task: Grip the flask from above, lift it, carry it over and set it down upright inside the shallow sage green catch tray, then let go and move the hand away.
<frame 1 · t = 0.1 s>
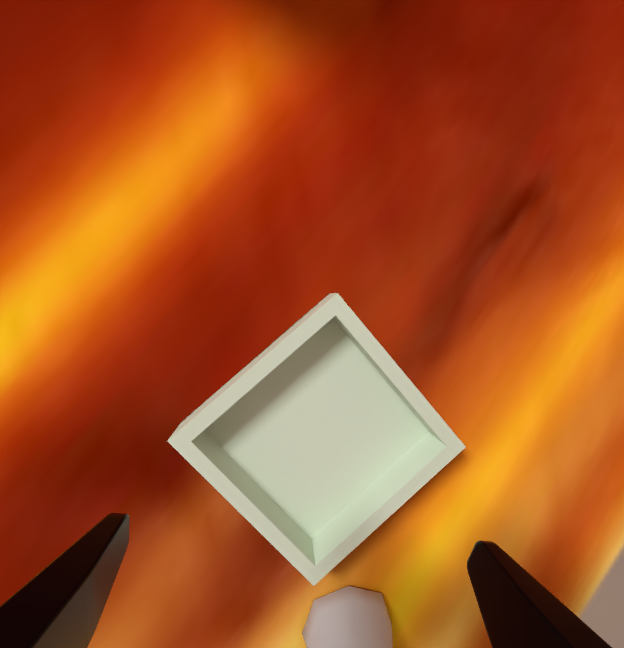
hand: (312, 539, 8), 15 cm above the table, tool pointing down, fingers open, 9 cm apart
flask: (346, 622, 26), on the table
catch tray: (318, 426, 24), on the table
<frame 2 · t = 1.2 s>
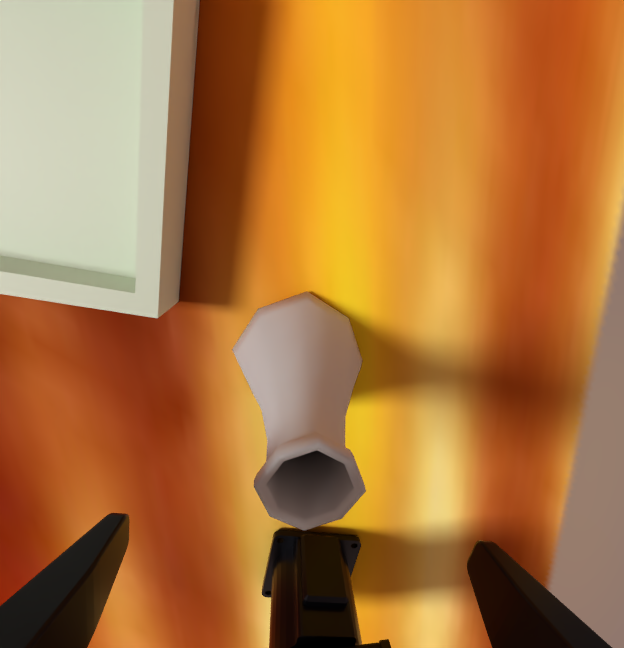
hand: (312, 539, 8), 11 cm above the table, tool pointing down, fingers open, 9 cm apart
flask: (298, 351, 19), on the table
catch tray: (27, 126, 14), on the table
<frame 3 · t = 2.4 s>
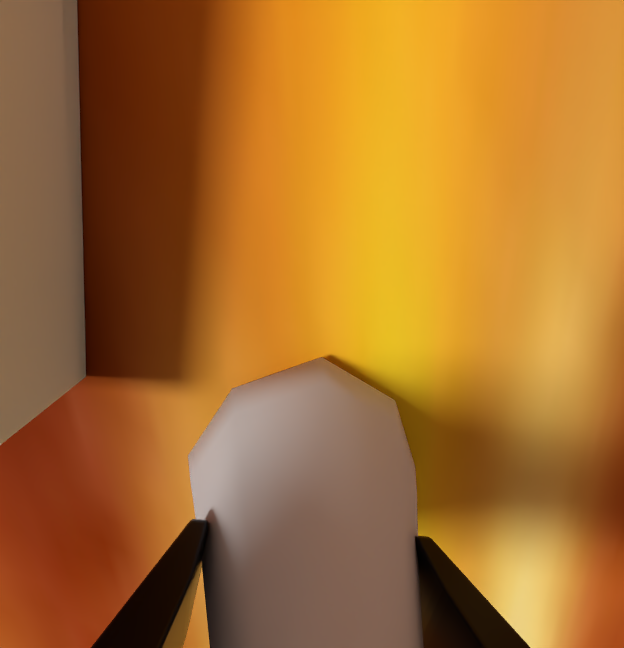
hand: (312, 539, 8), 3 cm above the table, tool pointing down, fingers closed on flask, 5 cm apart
flask: (305, 451, 11), on the table, touching gripper
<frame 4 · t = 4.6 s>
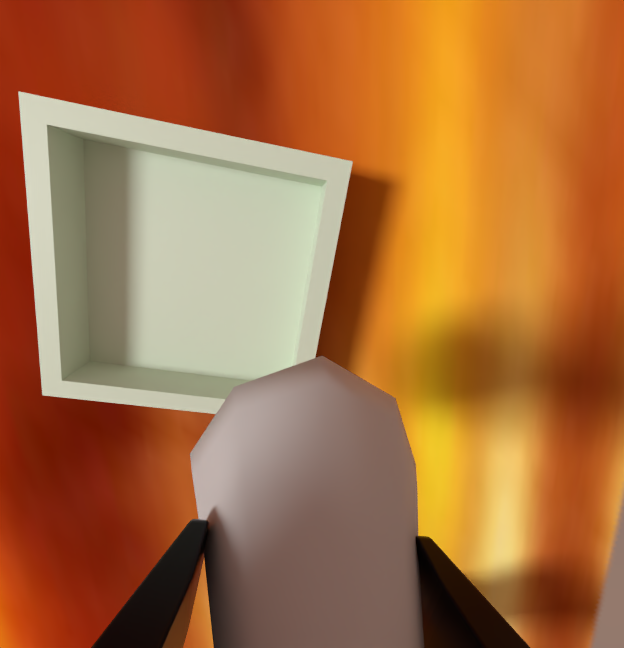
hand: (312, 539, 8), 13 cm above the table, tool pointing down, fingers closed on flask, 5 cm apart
flask: (306, 449, 11), point 10 cm above the table, touching gripper
catch tray: (201, 277, 19), on the table
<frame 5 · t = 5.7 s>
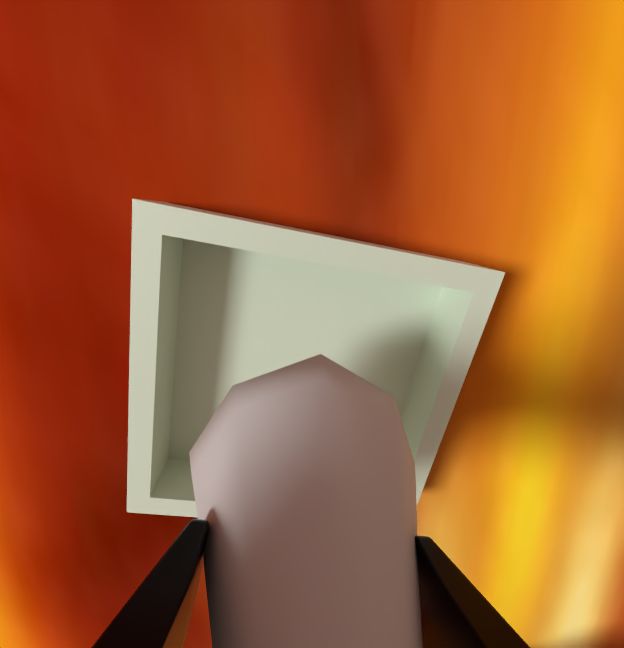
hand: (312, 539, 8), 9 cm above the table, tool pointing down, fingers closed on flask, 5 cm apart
flask: (305, 448, 11), point 6 cm above the table, touching gripper
catch tray: (297, 370, 17), on the table
when the fingers open (5 cm above the table, at t = 6.8 s): flask drops 1 cm, resting on catch tray.
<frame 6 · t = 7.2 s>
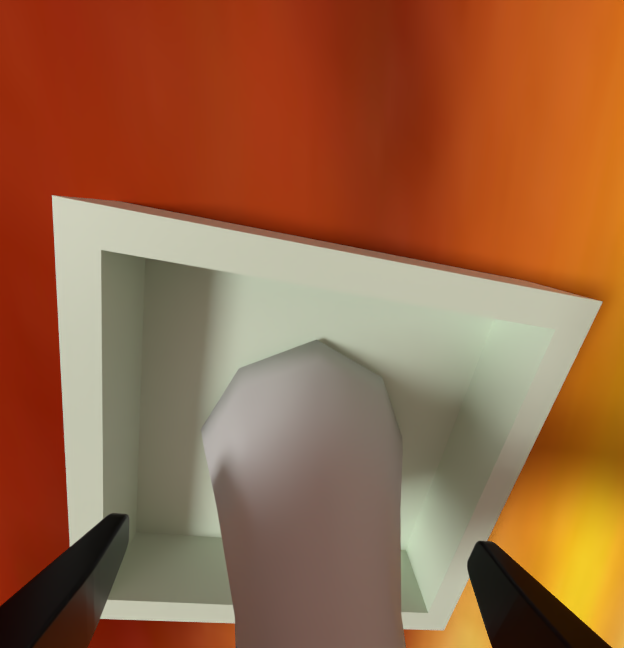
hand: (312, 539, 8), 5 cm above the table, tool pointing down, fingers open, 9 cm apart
flask: (304, 425, 13), resting on catch tray
catch tray: (302, 420, 13), on the table
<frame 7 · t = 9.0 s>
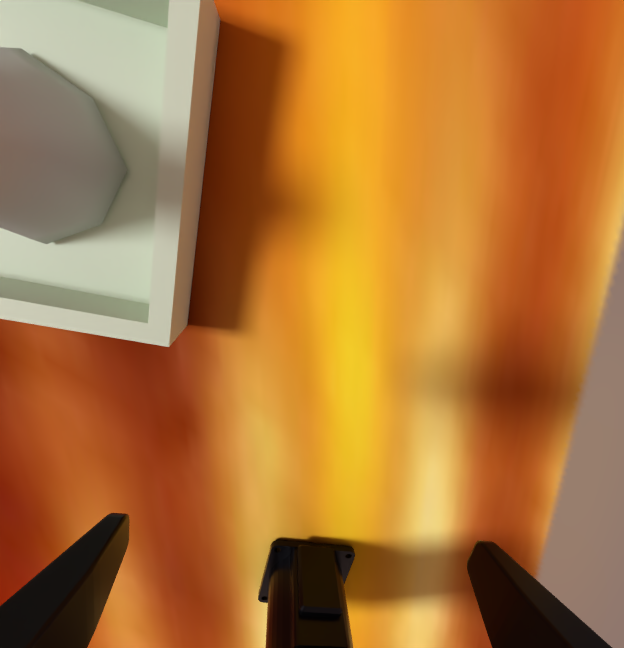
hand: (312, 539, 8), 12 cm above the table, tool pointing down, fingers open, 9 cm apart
flask: (42, 156, 14), resting on catch tray
catch tray: (45, 156, 15), on the table
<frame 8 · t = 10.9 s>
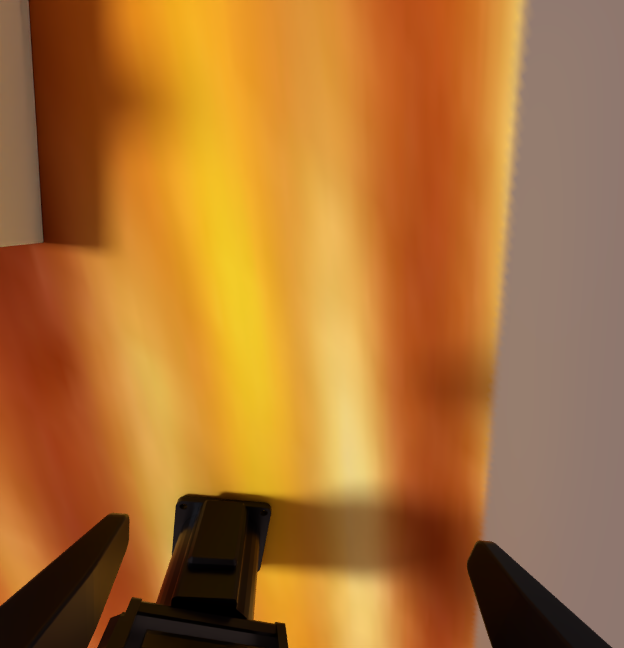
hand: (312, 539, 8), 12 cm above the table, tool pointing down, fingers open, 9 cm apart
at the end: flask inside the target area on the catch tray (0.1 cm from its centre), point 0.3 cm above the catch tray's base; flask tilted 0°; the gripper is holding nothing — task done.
